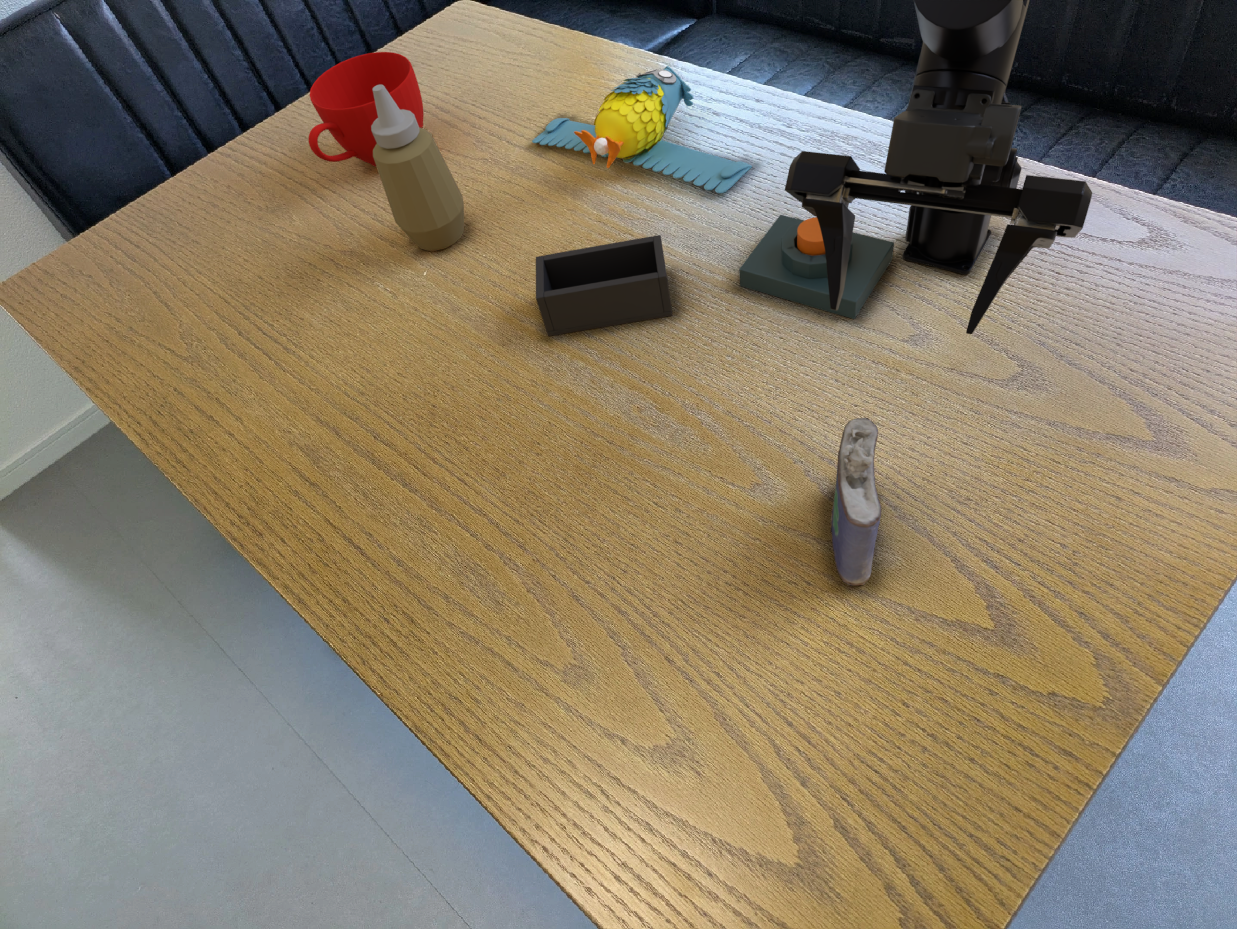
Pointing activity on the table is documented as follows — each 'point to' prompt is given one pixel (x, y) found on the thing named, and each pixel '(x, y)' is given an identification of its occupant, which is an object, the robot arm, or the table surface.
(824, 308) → the panel
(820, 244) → the button
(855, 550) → the flask
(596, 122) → the owl figurine
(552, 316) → the box
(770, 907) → the table surface
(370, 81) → the ceramic cup
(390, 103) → the squeeze bottle
